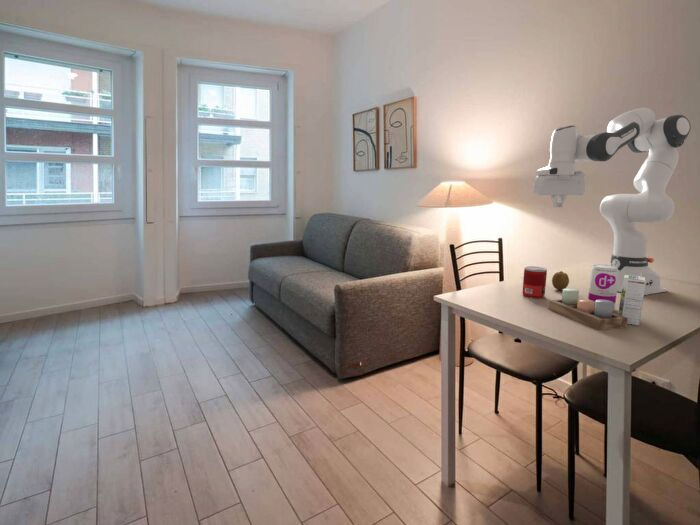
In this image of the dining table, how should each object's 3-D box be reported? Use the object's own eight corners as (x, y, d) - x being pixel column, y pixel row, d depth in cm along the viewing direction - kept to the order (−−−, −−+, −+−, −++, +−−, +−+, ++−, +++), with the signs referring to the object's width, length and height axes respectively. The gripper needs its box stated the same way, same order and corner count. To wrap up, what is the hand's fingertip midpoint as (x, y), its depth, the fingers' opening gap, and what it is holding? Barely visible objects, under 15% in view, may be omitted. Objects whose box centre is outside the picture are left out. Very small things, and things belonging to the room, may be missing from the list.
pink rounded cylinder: (585, 313, 135) (586, 298, 134) (596, 317, 130) (598, 302, 129) (572, 314, 134) (574, 299, 133) (584, 318, 129) (585, 303, 128)
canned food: (546, 298, 154) (549, 270, 152) (524, 297, 155) (526, 269, 153) (541, 293, 161) (544, 266, 159) (520, 292, 163) (522, 265, 161)
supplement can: (614, 313, 136) (620, 269, 133) (586, 309, 140) (591, 267, 138) (614, 307, 143) (619, 265, 140) (587, 303, 147) (591, 263, 144)
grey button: (602, 314, 128) (604, 298, 127) (615, 319, 123) (617, 303, 122) (590, 315, 127) (591, 299, 126) (602, 320, 122) (604, 304, 121)
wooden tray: (572, 306, 144) (573, 298, 143) (626, 327, 123) (627, 317, 122) (548, 308, 142) (548, 300, 141) (598, 329, 121) (599, 320, 120)
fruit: (559, 287, 170) (561, 269, 169) (571, 291, 165) (573, 272, 163) (547, 289, 168) (549, 270, 167) (559, 292, 163) (561, 273, 161)
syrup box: (617, 317, 132) (623, 274, 129) (639, 321, 128) (646, 276, 126) (617, 322, 127) (622, 277, 124) (640, 326, 124) (646, 280, 121)
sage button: (570, 302, 141) (571, 288, 140) (580, 305, 137) (582, 291, 136) (558, 302, 140) (559, 288, 139) (568, 306, 136) (569, 292, 135)
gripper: (578, 171, 158) (574, 206, 161) (532, 170, 154) (529, 207, 157) (591, 170, 152) (587, 207, 155) (543, 170, 148) (540, 208, 151)
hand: (557, 207), depth 156 cm, fingers closed
